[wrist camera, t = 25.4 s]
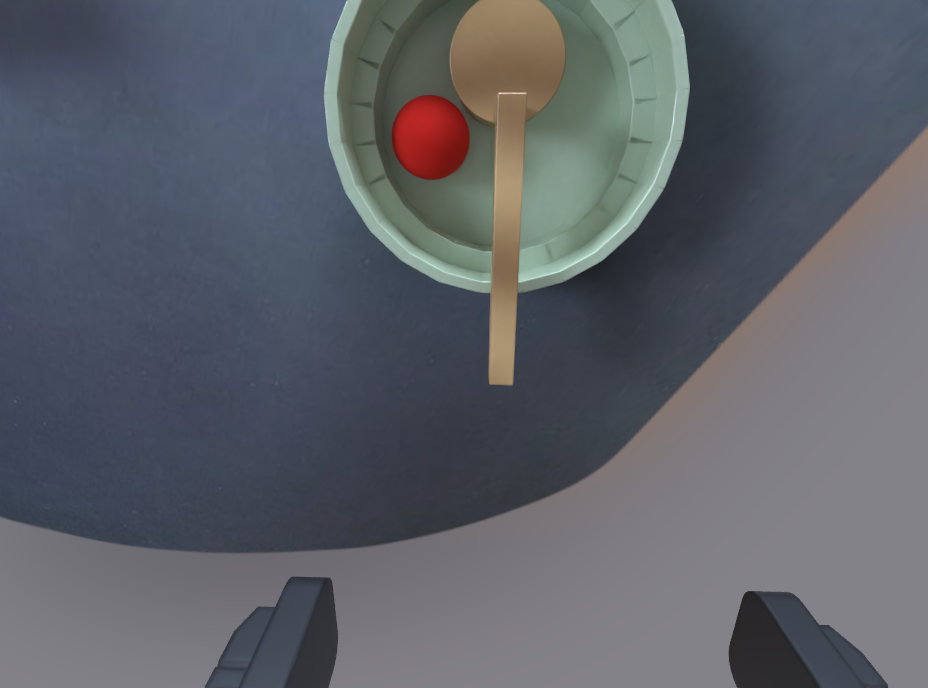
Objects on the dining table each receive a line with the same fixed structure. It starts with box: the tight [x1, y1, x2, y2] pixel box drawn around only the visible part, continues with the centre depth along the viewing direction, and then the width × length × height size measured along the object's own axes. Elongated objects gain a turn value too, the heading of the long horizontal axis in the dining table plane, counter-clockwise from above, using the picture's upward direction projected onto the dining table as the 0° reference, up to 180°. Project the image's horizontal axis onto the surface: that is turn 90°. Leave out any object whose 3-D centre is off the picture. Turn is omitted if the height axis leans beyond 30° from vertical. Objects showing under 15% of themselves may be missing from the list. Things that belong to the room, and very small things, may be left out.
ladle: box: [449, 0, 566, 385], centre depth 24 cm, size 18×6×7 cm, turn 0°
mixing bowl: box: [324, 0, 690, 293], centre depth 24 cm, size 16×16×6 cm
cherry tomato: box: [392, 95, 470, 180], centre depth 24 cm, size 4×4×4 cm
